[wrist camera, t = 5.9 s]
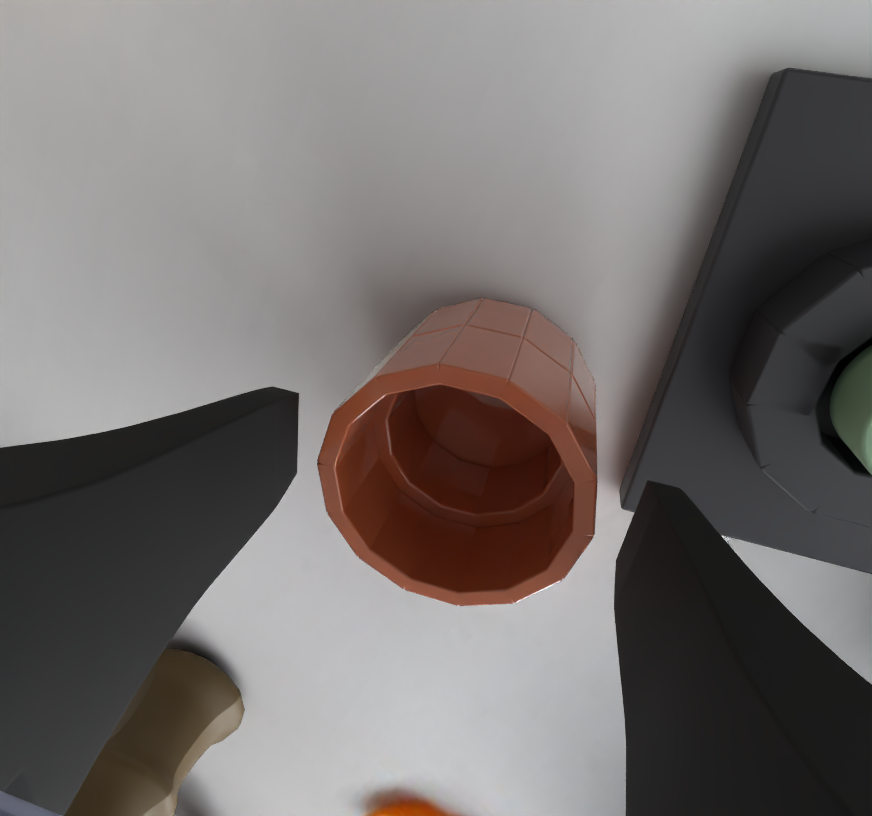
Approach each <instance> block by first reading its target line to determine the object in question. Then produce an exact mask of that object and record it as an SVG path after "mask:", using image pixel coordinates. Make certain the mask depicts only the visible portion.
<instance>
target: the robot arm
mask: <svg viewBox="0 0 872 816" xmlns="http://www.w3.org/2000/svg"><path fill="white" fill-rule="evenodd" d="M298 406H299V393H296V392H292V391H288V390H284V389H280V388H276V387H268V388H262V389H258V390H254V391H251V392H247V393H243V394H240V395H237V396H233V397H230V398H227V399H224V400H220V401H217V402H214V403H210V404H207V405H204V406H201V407H197V408H194V409H191V410H187V411H184V412H181V413H177V414H173V415H170V416H166V417H162V418H158V419H155V420H151V421H147V422H144V423H140V424H136V425H132V426H128V427H124V428H120V429H115V430H110V431H106V432H101V433H96V434H91V435H85V436H80V437H75V438H69V439H63V440H57V441H49V442H41V443H34V444H26V445H18V446H11V447H3V448H0V816H64V815H65V813H66V812H67V810H68V808H69V806H70V804H71V803H72V801H73V799H74V797H75V796H76V794H77V792H78V790H79V789H80V787H81V785H82V783H83V781H84V780H85V778H86V776H87V774H88V773H89V771H90V769H91V767H92V766H93V764H94V762H95V760H96V759H97V757H98V755H99V753H100V752H101V750H102V748H103V747H104V745H105V743H106V742H107V740H108V738H109V737H110V735H111V733H112V732H113V730H114V728H115V727H116V725H117V724H118V722H119V720H120V719H121V717H122V715H123V714H124V712H125V710H126V709H127V707H128V705H129V704H130V702H131V700H132V699H133V697H134V695H135V694H136V692H137V691H138V689H139V688H140V686H141V685H142V683H143V681H144V680H145V678H146V677H147V675H148V674H149V672H150V671H151V669H152V668H153V666H154V664H155V663H156V661H157V660H158V658H159V657H160V655H161V654H162V652H163V651H164V649H165V647H166V646H167V645H168V643H169V642H170V640H171V639H172V637H173V636H174V634H175V633H176V631H177V630H178V629H179V627H180V626H181V624H182V623H183V621H184V620H185V618H186V617H187V615H188V614H189V612H190V611H191V610H192V608H193V607H194V605H195V604H196V603H197V601H198V600H199V599H200V598H201V596H202V595H203V594H204V592H205V591H206V590H207V589H208V587H209V586H210V585H211V584H212V583H213V581H214V580H215V579H216V578H217V577H218V576H219V574H220V573H221V572H222V571H223V570H224V569H225V567H226V566H227V565H228V564H229V563H230V562H231V560H232V559H233V558H234V557H235V556H236V555H237V553H238V552H239V551H240V550H241V549H242V548H243V546H244V545H245V544H246V543H247V542H248V540H249V539H250V538H251V537H252V536H253V535H254V533H255V532H256V531H257V530H258V529H259V527H260V526H261V525H262V524H263V523H264V521H265V520H266V519H267V518H268V517H269V515H270V514H271V513H272V512H273V510H274V509H275V508H276V506H277V505H278V503H279V501H280V500H281V498H282V497H283V495H284V494H285V492H286V490H287V489H288V487H289V485H290V484H291V482H292V480H293V479H294V477H295V475H296V474H297V449H298ZM614 611H615V623H616V634H617V645H618V655H619V665H620V675H621V685H622V695H623V705H624V715H625V731H626V816H872V685H871V684H870V683H869V682H867V681H866V680H865V679H864V678H863V677H862V676H860V675H859V674H858V673H857V672H856V671H854V670H853V669H852V668H851V667H850V666H849V665H847V664H846V663H845V662H844V661H843V660H842V659H840V658H839V657H838V656H837V655H836V654H835V653H834V652H833V651H832V650H831V649H829V648H828V647H827V646H826V645H825V644H824V643H823V642H822V641H821V640H820V639H818V638H817V637H816V636H815V635H814V634H813V633H812V632H811V631H810V630H809V629H807V628H806V627H805V626H804V625H803V624H802V623H801V622H800V621H799V620H798V619H797V618H796V617H795V616H794V615H793V614H792V613H791V612H790V611H789V610H788V609H787V608H786V607H785V606H784V605H783V604H782V603H781V602H780V601H779V600H778V599H777V598H776V597H775V596H774V595H773V593H772V592H771V591H770V590H769V589H768V588H767V587H766V586H765V585H764V584H763V583H762V582H761V581H760V580H759V579H758V578H757V576H756V575H755V574H754V573H753V572H752V571H751V570H750V569H749V568H748V567H747V565H746V564H745V563H744V562H743V561H742V560H741V559H740V557H739V556H738V555H737V554H736V553H735V552H734V550H733V549H732V548H731V547H730V546H729V545H728V543H727V542H726V541H725V540H724V539H723V538H722V536H721V535H720V534H719V533H718V532H717V530H716V529H715V528H714V527H713V525H712V524H711V523H710V522H709V521H708V519H707V518H706V517H705V516H704V515H703V513H702V512H701V511H700V510H699V508H698V507H697V506H696V505H695V504H694V502H693V501H692V500H691V499H690V498H689V497H688V496H687V494H686V493H685V492H684V491H683V490H682V489H681V488H678V487H674V486H670V485H666V484H662V483H658V482H654V481H650V480H647V482H646V485H645V488H644V490H643V493H642V495H641V498H640V500H639V503H638V505H637V508H636V511H635V513H634V516H633V518H632V521H631V523H630V526H629V528H628V531H627V534H626V536H625V539H624V541H623V544H622V546H621V549H620V551H619V554H618V557H617V559H616V571H615V593H614Z"/></svg>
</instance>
